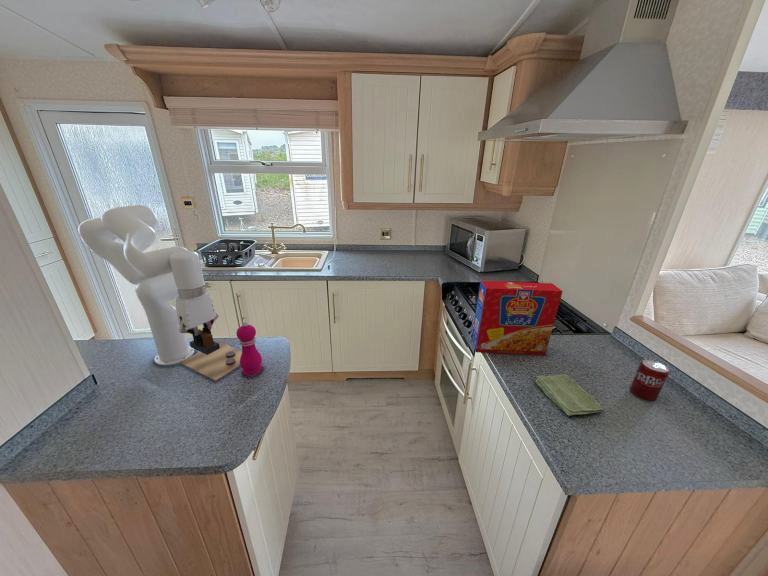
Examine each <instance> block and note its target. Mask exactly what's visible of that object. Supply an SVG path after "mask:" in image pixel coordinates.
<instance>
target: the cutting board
mask: <svg viewBox="0 0 768 576" xmlns="http://www.w3.org/2000/svg"><path fill="white" fill-rule="evenodd" d="M217 343H219V346H220V349H218V350H216V351H214V352H212V353H210V354H208V355H206V354H204V353H202V352H200V351H198V352H196V353H195V354H193V355H192V356H191V357H189V358H188V359H186V360H184V361H182V362H179V364H182V365H183V366H186V367H188V369H191V370H193V371H195V372H198V373H199V374H201V375H203V376H205V377H207V378H209V379H212V380H214V381H217V380H219V379H220V378H222V377H224V376H225V375H226V374H228V373H231V372H232V371H233V370H234V369H236V368H238V367H239V366H240V357H241V354H242V350H241V349H238V348H235V347H233V346H231V345H228V344H225V343H223V342H221V341H217ZM230 351H234V352H235V356H234V357H231V358H234V359H235V361H236V362H235V363H234V364H233V365H226V360H228V359H230V358H227V357H226V353H227V352H230Z"/></svg>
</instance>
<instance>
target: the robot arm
mask: <svg viewBox="0 0 768 576" xmlns="http://www.w3.org/2000/svg"><path fill="white" fill-rule="evenodd" d="M157 225H158V216H157V215H156V213H155V212H154V211H153V210H152V209H151V208H150V207H148V206H146V205H142V204H138V205H137V204H136V205H127V206H115V207H110V208H108V209H106V210H104V212H102V214H101V216H99V217H93V218H89V219H86V220H84V221H82V222H81V223H80V224H79V225H78V227H77V228H78V229H77V231H78V234H79V236H80V239H81V240H82V242H83V244H84V245H85V246H86V247H87V248H88V249H89V250H90V251H91V252H93V254H95V255H96V256H98V257H99V258H102V260H105V261H106V262H107V263H108V264H110V265H111V266H112V267H113V268H114V269H115V270H116V272H118V274H120V275H121V277H123V279H125V280H126V281H127V282H128V283H130V284H132V285H134V286H136V287H135V290H134V291H135V295H136V297H137V299H138V301H139V302H140V305H141V306H142V309H143V310H144V314H145V315H146V318H147V322H148V325H149V328H150V331H151V334H152V338H153V342H154V344H155V349H156V352H157V354H156V355H155V356H154V358H153V359H154V360H153V361H154V363H155V364H156V365H159V366H171V365H176V364H180V362H182V361H184V360H186V359H188V358H189V357H191V356H193V355H194V353H195V349H193V348H191V347H190V344H189V342H188V339H187V335H186V334H190V335H192V339H193V340H194V342H195V343H196V344H199V345H203V342H202V338H201V334H199V332H198V329H199V326H202V329H201V330H202V331H204V332H207V333H209V334H212V331H211V330H212V329H213V325H214V323H215V321H216V320H217V319H218V318H219V314H218V313H217V311H216V307H215V304H214V302H213V299H212V297H211V294H210V292H209V290H207V287H210V284H209V283H208V281H207V282H205V279H204V278H205V277H204V274H203V269H202V263H201V260H200V256H199V254H198V253H197V252H196V251H195V250H188V249H187V248H186V247H183V246H180V245H176V246H171V247H165V248H161V249H156V250H150V251H146V250H147V249H148V248H150V247H151V246H152V245H154V243H155V241H156V237H157V234H156V231H155V230H154V229H156V227H157ZM119 241H123V242H124V243H123V242H119ZM144 251H146V252H144ZM173 301H175V306H174V305H171V304H170V303H171V302H173Z"/></svg>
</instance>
